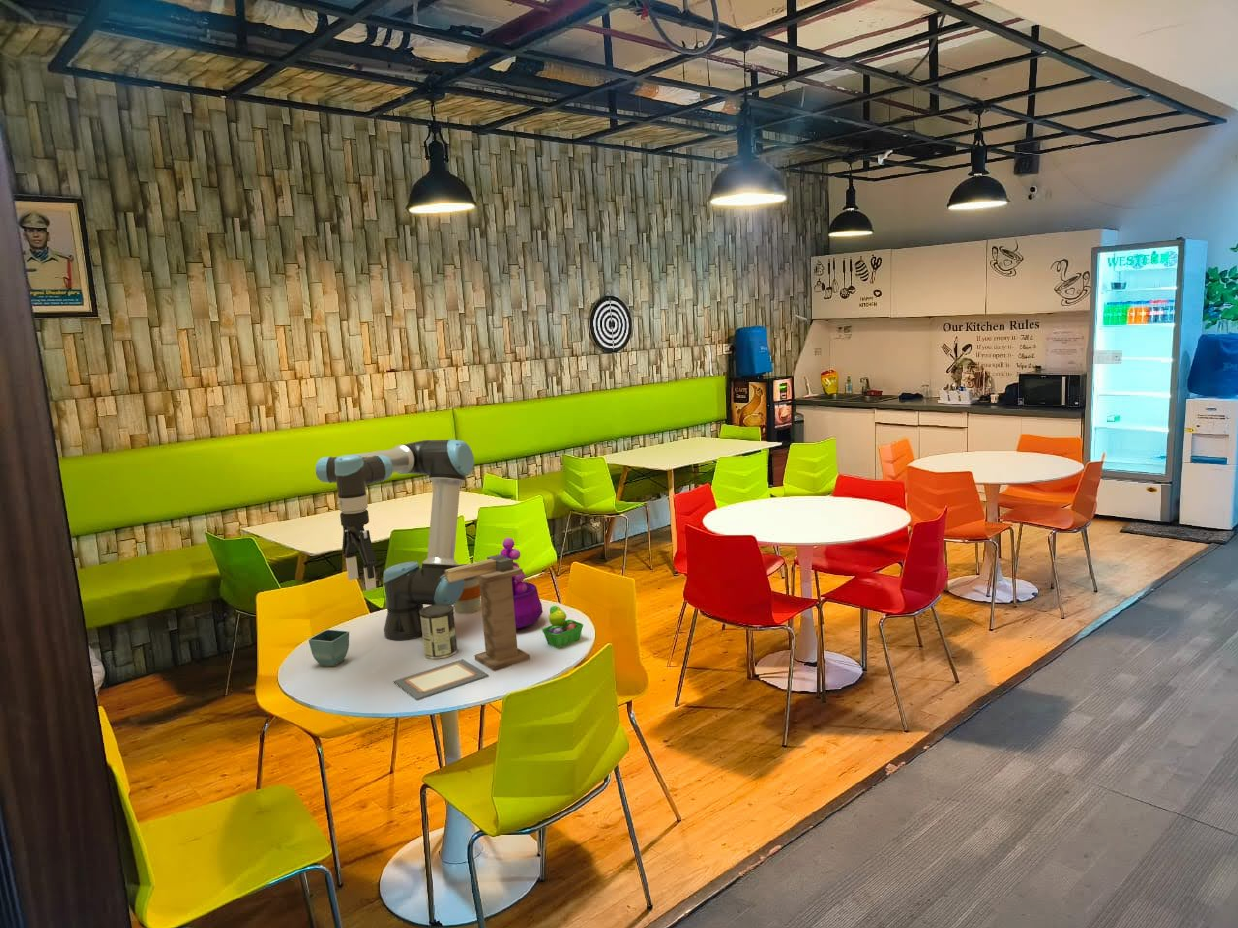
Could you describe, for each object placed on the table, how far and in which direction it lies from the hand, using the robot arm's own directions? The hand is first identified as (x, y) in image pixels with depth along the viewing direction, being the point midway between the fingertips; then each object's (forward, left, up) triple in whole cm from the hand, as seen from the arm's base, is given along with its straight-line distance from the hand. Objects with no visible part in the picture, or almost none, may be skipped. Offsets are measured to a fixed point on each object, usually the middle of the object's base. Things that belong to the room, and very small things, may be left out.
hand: (362, 584), depth 239 cm
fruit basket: (+15, +56, -29) cm, 65 cm away
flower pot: (-22, -4, -29) cm, 37 cm away
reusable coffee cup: (-36, +49, -29) cm, 67 cm away
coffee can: (-5, +24, -29) cm, 38 cm away
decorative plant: (-9, +53, -29) cm, 61 cm away
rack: (+14, +35, -29) cm, 47 cm away
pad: (+14, +15, -29) cm, 35 cm away
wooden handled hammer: (+14, +29, -1) cm, 32 cm away
